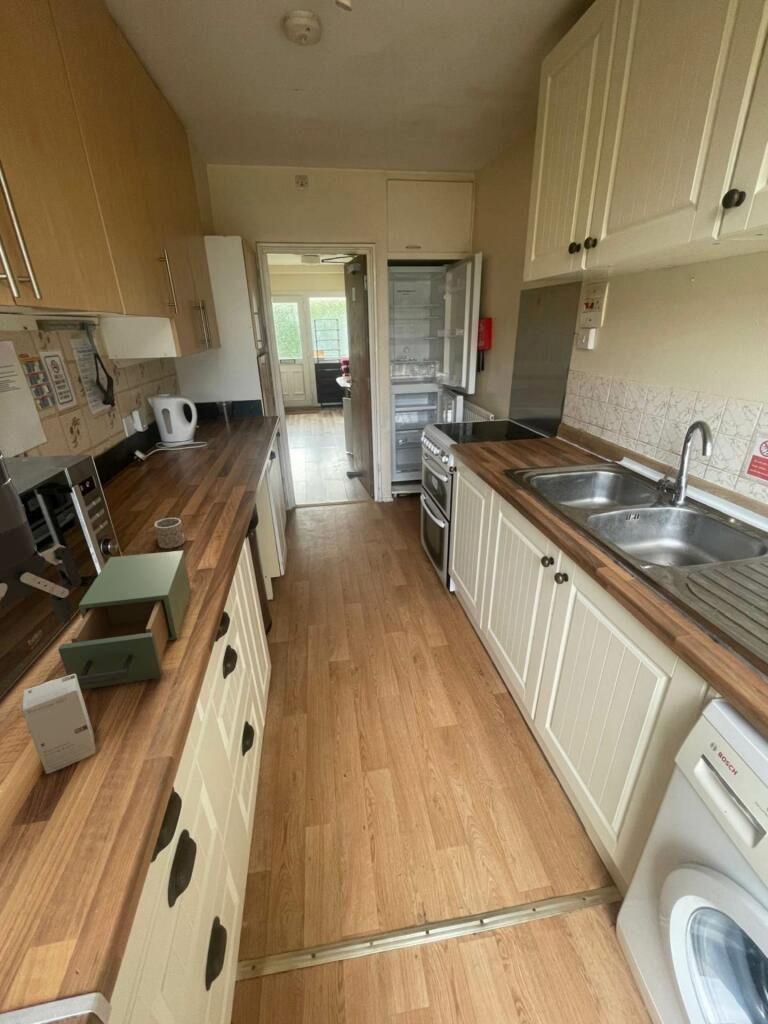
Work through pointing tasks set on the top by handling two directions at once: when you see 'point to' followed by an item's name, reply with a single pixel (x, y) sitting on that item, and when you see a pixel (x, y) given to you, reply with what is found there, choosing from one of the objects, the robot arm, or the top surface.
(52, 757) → the cosmetic box
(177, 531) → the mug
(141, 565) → the cabinet
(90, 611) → the drawer
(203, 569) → the top surface
